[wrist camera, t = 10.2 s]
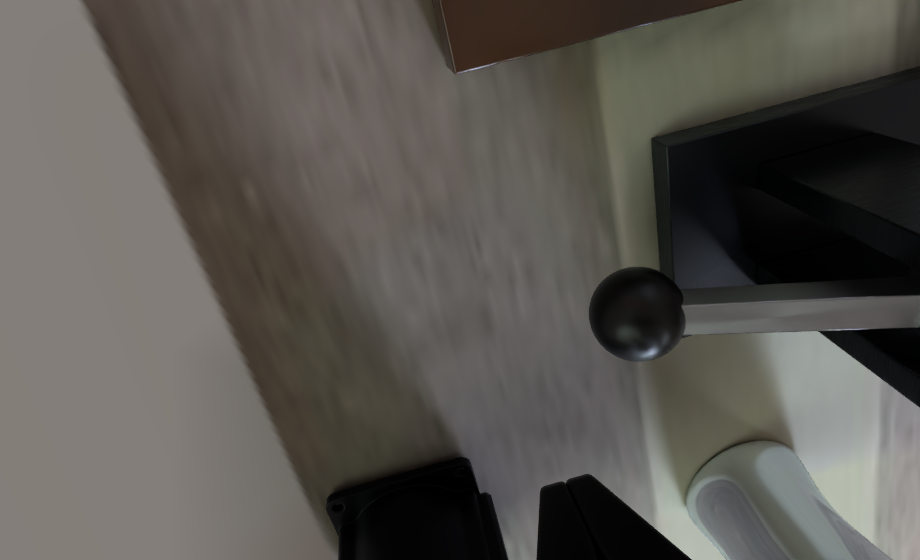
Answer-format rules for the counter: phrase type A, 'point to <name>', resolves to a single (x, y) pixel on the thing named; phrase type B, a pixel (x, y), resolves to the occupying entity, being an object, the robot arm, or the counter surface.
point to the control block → (541, 25)
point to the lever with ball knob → (740, 309)
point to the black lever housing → (802, 203)
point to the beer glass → (770, 509)
